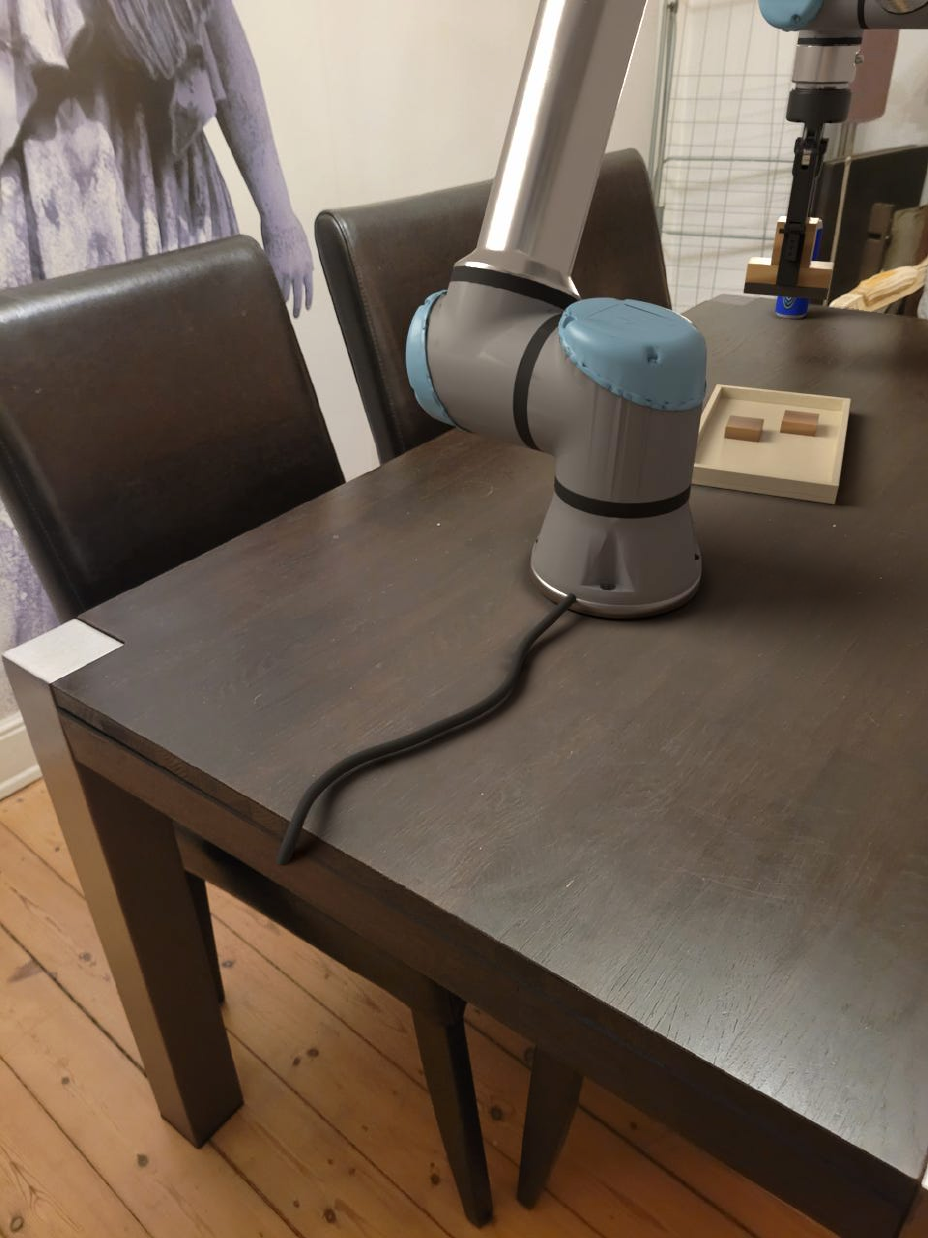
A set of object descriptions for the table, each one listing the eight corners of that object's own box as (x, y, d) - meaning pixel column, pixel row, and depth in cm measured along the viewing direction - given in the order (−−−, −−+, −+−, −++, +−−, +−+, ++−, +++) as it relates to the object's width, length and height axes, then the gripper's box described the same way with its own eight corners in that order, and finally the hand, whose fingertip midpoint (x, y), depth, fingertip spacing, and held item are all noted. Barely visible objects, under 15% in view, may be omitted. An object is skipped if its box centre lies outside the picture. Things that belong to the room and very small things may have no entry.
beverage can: (767, 313, 157) (783, 218, 149) (791, 309, 159) (808, 215, 151) (788, 320, 153) (805, 223, 145) (813, 316, 155) (830, 220, 147)
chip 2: (814, 437, 110) (817, 425, 109) (779, 432, 111) (781, 420, 110) (817, 425, 113) (819, 413, 112) (783, 421, 114) (785, 409, 113)
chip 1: (758, 442, 108) (760, 430, 108) (723, 438, 110) (725, 426, 109) (762, 430, 111) (764, 418, 111) (728, 426, 113) (730, 414, 112)
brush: (826, 300, 125) (841, 224, 120) (743, 293, 129) (754, 220, 123) (828, 292, 129) (842, 219, 124) (747, 286, 132) (758, 214, 127)
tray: (834, 504, 96) (838, 485, 95) (674, 481, 101) (676, 463, 100) (847, 414, 117) (851, 398, 116) (714, 399, 122) (716, 383, 121)
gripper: (850, 90, 107) (811, 297, 120) (856, 82, 121) (820, 269, 133) (783, 89, 109) (751, 292, 122) (796, 82, 123) (767, 265, 136)
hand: (787, 280), depth 128 cm, fingers closed on brush, 4 cm apart
